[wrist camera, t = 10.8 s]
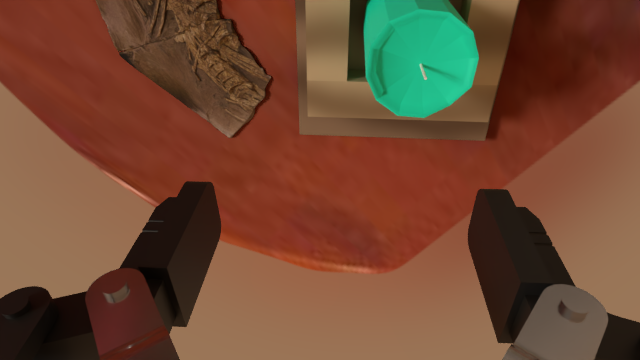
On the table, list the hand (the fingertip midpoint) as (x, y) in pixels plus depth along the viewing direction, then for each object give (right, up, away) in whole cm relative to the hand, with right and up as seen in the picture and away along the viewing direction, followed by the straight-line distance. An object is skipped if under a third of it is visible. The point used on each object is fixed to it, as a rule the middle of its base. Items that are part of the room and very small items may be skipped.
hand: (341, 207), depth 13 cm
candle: (+6, +13, +18) cm, 23 cm away
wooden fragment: (-13, +15, +20) cm, 29 cm away
